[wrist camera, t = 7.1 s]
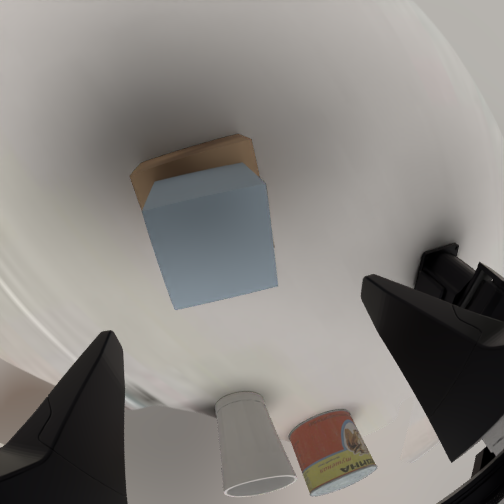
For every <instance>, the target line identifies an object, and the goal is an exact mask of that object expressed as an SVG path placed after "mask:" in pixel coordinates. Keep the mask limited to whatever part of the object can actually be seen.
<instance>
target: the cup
mask: <svg viewBox="0 0 504 504" xmlns="http://www.w3.org/2000/svg"><path fill="white" fill-rule="evenodd" d="M215 412H216V417H217V423H218V433H219V444H220V453H221V462H222V468H221V469H222V480H223V490H224V494H225V495H227V496H232V497H247V496H256V495H262V494H266V493H270V492H273V491H277V490H280V489H282V488H285V487H287V486H289V485H291V484H292V483H294V482H295V481H296V480H297V476H296V474H295V472H294V470H293V468H292V466H291V463H290V461H289V459H288V457H287V455H286V453H285V451H284V448H283V446H282V444H281V441H280V439H279V437H278V434H277V432H276V430H275V427H274V425H273V423H272V420H271V418H270V416H269V413H268V411H267V408H266V406H265V403H264V399H263V397H262V396H261V395H259V394H257V393H254V392H237V393H233V394H229V395H227V396H225V397H223V398H221V399H220V400H219V401H218V402H217V403H216V405H215Z"/></svg>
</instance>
